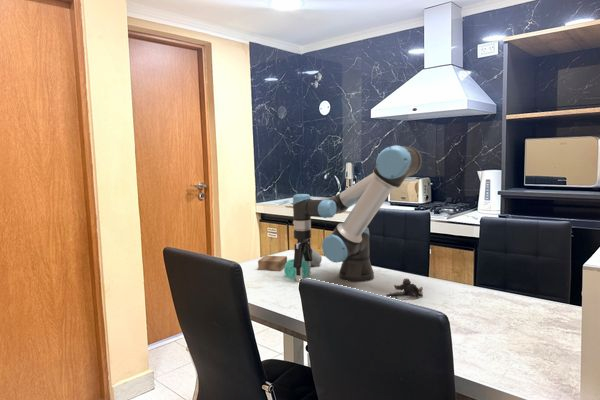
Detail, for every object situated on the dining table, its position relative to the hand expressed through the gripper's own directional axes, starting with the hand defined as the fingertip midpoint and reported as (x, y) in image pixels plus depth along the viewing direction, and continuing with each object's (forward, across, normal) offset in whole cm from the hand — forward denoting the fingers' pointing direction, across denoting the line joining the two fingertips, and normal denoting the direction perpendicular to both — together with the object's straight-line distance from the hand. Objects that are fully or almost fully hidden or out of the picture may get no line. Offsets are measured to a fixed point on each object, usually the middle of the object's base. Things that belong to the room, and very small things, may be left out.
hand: (303, 278), depth 190 cm
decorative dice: (+1, -1, -4) cm, 4 cm away
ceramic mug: (+1, -23, -5) cm, 24 cm away
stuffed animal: (+3, +6, +48) cm, 48 cm away
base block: (+1, -12, -20) cm, 23 cm away
